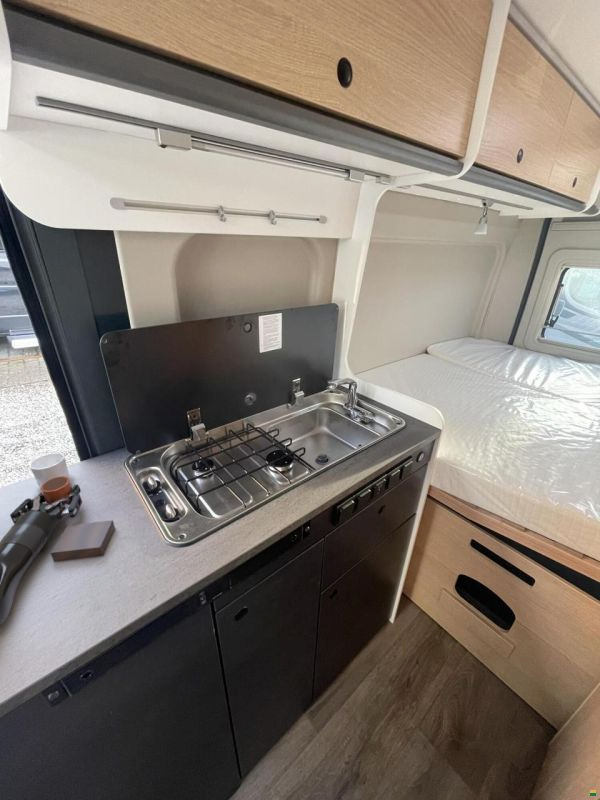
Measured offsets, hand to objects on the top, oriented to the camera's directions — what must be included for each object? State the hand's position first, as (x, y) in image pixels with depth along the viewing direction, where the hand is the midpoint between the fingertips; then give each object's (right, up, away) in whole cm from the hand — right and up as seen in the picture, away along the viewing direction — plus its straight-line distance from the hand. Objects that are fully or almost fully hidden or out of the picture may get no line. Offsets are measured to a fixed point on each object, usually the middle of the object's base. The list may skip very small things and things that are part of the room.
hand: (63, 488), depth 87 cm
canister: (0, -6, 0) cm, 6 cm away
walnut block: (+13, -11, -11) cm, 20 cm away
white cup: (-7, -2, +8) cm, 11 cm away
